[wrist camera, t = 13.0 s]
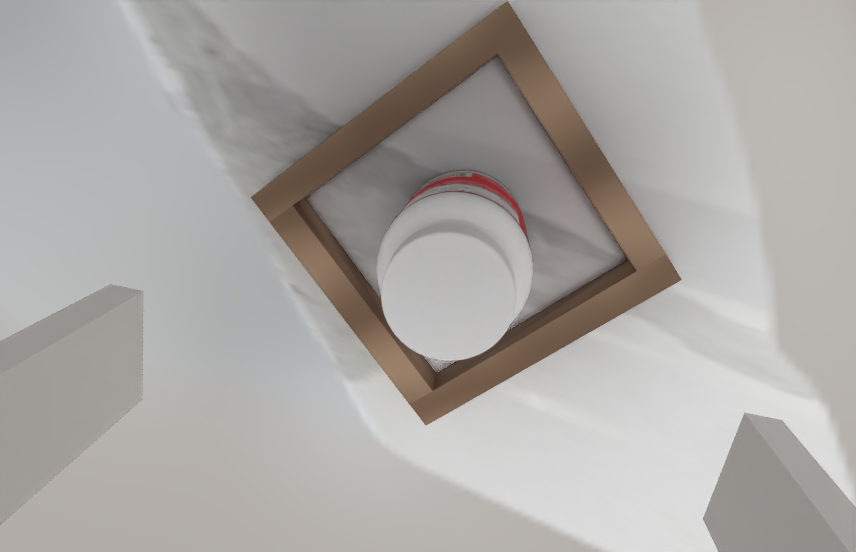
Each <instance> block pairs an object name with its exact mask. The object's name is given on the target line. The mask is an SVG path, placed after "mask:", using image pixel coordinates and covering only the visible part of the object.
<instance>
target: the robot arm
mask: <svg viewBox="0 0 856 552" xmlns="http://www.w3.org/2000/svg"><path fill="white" fill-rule="evenodd" d="M142 373H143V291H140V290H135V289H130V288H126V287H121V286H116V285H111V284H110V285H108V286H106V287H104V288H103V289H101V290H99V291H97V292H95V293H93V294H91V295H89V296H87V297H85V298H83V299H81V300H79V301H77V302H75V303H74V304H71V305H70V306H68V307H66V308H64V309H62V310H60V311H58V312H56V313H54V314H52V315H50V316H48V317H46V318H44V319H42V320H40V321H38V322H37V323H35V324H33V325H31V326H29V327H27V328H25V329H23V330H21V331H19V332H17V333H15V334H13V335H11V336H9V337H7V338H6V339H4V340H2V341H0V525H1V524H2V523H3V522H4V521H5V520H7V519H8V518H9V517H10V516H11V515H12V514H13V513H15V512H16V511H17V510H18V509H19V508H20V507H21V506H22V505H23V504H25V503H26V502H27V501H28V500H29V499H30V498H32V497H33V495H35V494H36V493H37V492H38V491H39V490H41V489H42V488H43V487H44V486H45V485H46V484H47V483H48V482H49V481H51V480H52V479H53V478H54V477H55V476H56V475H57V474H59V473H60V472H61V471H62V470H63V469H64V468H65V467H67V466H68V465H69V464H70V463H71V462H72V461H73V460H74V459H76V458H77V457H78V456H79V455H80V454H81V453H82V452H83V451H85V450H86V449H87V448H88V447H89V446H90V445H91V444H93V443H94V442H95V441H96V440H97V439H98V438H99V437H100V436H101V435H103V434H104V433H105V432H106V431H107V430H108V429H109V428H110V427H112V426H113V425H114V424H115V423H116V422H117V421H118V420H119V419H121V418H122V417H123V416H124V415H125V414H126V413H128V412H129V411H130V410H131V409H132V408H133V407H134V406H135V405H137V404H138V403H139V402H140V401H141V400H142V380H143V379H142V377H143V374H142ZM703 520H704V522H705V524H706V526H707V528H708V530H709V532H710V535H711V537H712V539H713V541H714V543H715V545H716V547H717V549H718V552H856V507H855V506H854V505H853V504H852V503H851V501H850V500H849V499H848V498H847V497H846V496H845V494H844V493H843V492H842V491H841V490H840V488H839V487H838V486H837V485H836V484H835V483H834V481H833V480H832V479H831V478H830V477H829V475H828V474H827V473H826V472H825V471H824V470H823V468H822V467H821V466H820V465H819V464H818V462H817V461H816V460H815V459H814V458H813V457H812V455H811V454H810V453H809V452H808V451H807V449H806V448H805V447H804V446H803V445H802V444H801V442H800V441H799V440H798V439H797V438H796V436H795V435H794V434H793V433H792V432H791V431H790V429H789V428H788V427H787V426H786V425H785V423H784V422H783V421H782V420H778V419H773V418H768V417H763V416H758V415H753V414H748V413H744V416H743V418H742V421H741V423H740V426H739V428H738V431H737V433H736V436H735V438H734V441H733V444H732V446H731V449H730V451H729V454H728V456H727V459H726V461H725V464H724V466H723V469H722V472H721V474H720V477H719V479H718V482H717V484H716V487H715V489H714V492H713V494H712V497H711V500H710V502H709V505H708V507H707V510H706V512H705V515H704V517H703Z"/></svg>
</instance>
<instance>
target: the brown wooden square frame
mask: <svg viewBox="0 0 856 552" xmlns="http://www.w3.org/2000/svg"><path fill="white" fill-rule="evenodd" d="M497 56H498V58H499V59H500V61H501V62H502V64H503V65H504V67H505V68H506V70H507V72H508V73H509V75H510V76H511V78H512V79H513V81H514V83H515V84H516V86H517V87H518V89H519V90H520V92H521V93H522V95H523V97H524V98H525V100H526V101H527V103H528V104H529V106H530V108H531V109H532V111H533V112H534V114H535V115H536V117H537V118H538V120H539V122H540V123H541V125H542V126H543V128H544V129H545V131H546V132H547V134H548V136H549V137H550V139H551V140H552V142H553V143H554V145H555V147H556V148H557V150H558V151H559V153H560V154H561V156H562V157H563V159H564V161H565V162H566V164H567V165H568V167H569V168H570V170H571V172H572V173H573V175H574V176H575V178H576V179H577V181H578V182H579V184H580V186H581V187H582V189H583V190H584V192H585V193H586V195H587V196H588V198H589V200H590V201H591V203H592V204H593V206H594V207H595V209H596V211H597V212H598V214H599V215H600V217H601V218H602V220H603V221H604V223H605V225H606V226H607V228H608V229H609V231H610V232H611V234H612V236H613V237H614V239H615V240H616V242H617V243H618V245H619V246H620V248H621V250H622V251H623V253H624V254H625V256H626V257H627V259H628V260H627V261H625V262H624V263H622V264H620V265H619V266H617V267H615V268H614V269H612V270H610V271H609V272H607V273H605V274H604V275H602V276H600V277H598V278H597V279H595V280H593V281H592V282H590V283H588V284H587V285H585V286H583V287H582V288H580V289H578V290H577V291H575V292H573V293H572V294H570V295H568V296H567V297H565V298H563V299H561V300H560V301H558V302H556V303H555V304H553V305H551V306H550V307H548V308H546V309H545V310H543V311H541V312H540V313H538V314H536V315H535V316H533V317H531V318H529V319H528V320H526V321H524V322H523V323H521V324H519V325H518V326H516V327H514V328H513V329H511V330H509V331H508V332H506V333H505V334H504V335H503V336H502V338H501V339H500V340H499V341H498V342H497V343H496V344H495V345H494V346H492V347H491V348H490V349H488V350H487V351H485V352H483V353H481V354H479V355H477V356H474V357H471V358H468V359H464V360H459V361H457V362H455V363H454V364H452V365H450V366H449V367H447V368H445V369H444V370H442V371H440V372H439V373H437V374H436V373H435V372H434V370H433V369H432V368H431V366H430V365H429V364H428V362H427V361H426V360H425V358H424V357H423V356H422V355H421V354H419V353H417V352H415V351H413V350H412V349H410V348H409V347H407V346H406V345H405V344H404V343H403V342H401V341H400V339H399V338H398V337H397V336H396V335H395V334H394V332H393V331H392V330H391V328H390V326H389V324H388V323H387V321H386V318H385V316H384V312H383V308H382V303H381V300H380V298H379V297H378V296H377V294H376V293H375V292H374V290H373V289H372V288H371V286H370V285H369V284H368V282H367V281H366V280H365V278H364V277H363V276H362V274H361V273H360V272H359V270H358V269H357V268H356V266H355V265H354V263H353V262H352V261H351V259H350V258H349V257H348V255H347V254H346V253H345V251H344V250H343V249H342V247H341V246H340V245H339V243H338V242H337V241H336V239H335V238H334V237H333V235H332V234H331V233H330V231H329V230H328V229H327V227H326V226H325V225H324V223H323V222H322V221H321V219H320V218H319V217H318V215H317V214H316V213H315V211H314V210H313V209H312V207H311V206H310V205H309V203H308V202H307V201H306V199H305V198H306V197H307V196H309V195H310V194H311V193H313V192H314V191H315V190H317V189H318V188H320V187H321V186H322V185H324V184H325V183H326V182H328V181H329V180H330V179H332V178H333V177H334V176H336V175H337V174H338V173H340V172H341V171H343V170H344V169H345V168H347V167H348V166H349V165H351V164H352V163H353V162H355V161H356V160H357V159H359V158H360V157H361V156H363V155H364V154H365V153H367V152H368V151H370V150H371V149H372V148H374V147H375V146H376V145H378V144H379V143H380V142H382V141H383V140H384V139H386V138H387V137H388V136H390V135H391V134H393V133H394V132H395V131H397V130H398V129H399V128H401V127H402V126H403V125H405V124H406V123H407V122H409V121H410V120H411V119H413V118H414V117H415V116H417V115H418V114H420V113H421V112H422V111H424V110H425V109H426V108H428V107H429V106H430V105H432V104H433V103H434V102H436V101H437V100H438V99H440V98H441V97H442V96H444V95H445V94H447V93H448V92H449V91H451V90H452V89H453V88H455V87H456V86H457V85H459V84H460V83H461V82H463V81H464V80H465V79H467V78H468V77H470V76H471V75H472V74H474V73H475V72H476V71H478V70H479V69H480V68H482V67H483V66H484V65H486V64H487V63H488V62H490V61H491V60H492V59H494V58H495V57H497ZM251 198H252V200H253V201H254V202H255V204H256V205H257V206H258V207H259V209H260V210H261V211H262V213H263V214H264V215H265V217H266V218H267V219H268V221H269V222H270V223H271V224H272V226H273V227H274V228H275V230H276V231H277V232H278V234H279V235H280V236H281V237H282V239H283V240H284V241H285V243H286V244H287V245H288V247H289V248H290V249H291V250H292V252H293V253H294V254H295V256H296V257H297V258H298V260H299V261H300V262H301V263H302V265H303V266H304V267H305V269H306V270H307V271H308V273H309V274H310V275H311V277H312V278H313V279H314V280H315V282H316V283H317V284H318V286H319V287H320V288H321V290H322V291H323V292H324V293H325V295H326V296H327V297H328V299H329V300H330V301H331V303H332V304H333V305H334V306H335V308H336V309H337V310H338V312H339V313H340V314H341V316H342V317H343V318H344V319H345V321H346V322H347V323H348V325H349V326H350V327H351V329H352V330H353V331H354V333H355V334H356V335H357V336H358V338H359V339H360V340H361V342H362V343H363V344H364V346H365V347H366V348H367V349H368V351H369V352H370V353H371V355H372V356H373V357H374V359H375V360H376V361H377V362H378V364H379V365H380V366H381V368H382V369H383V370H384V372H385V373H386V374H387V376H388V377H389V378H390V379H391V381H392V382H393V383H394V385H395V386H396V387H397V389H398V390H399V391H400V392H401V394H402V395H403V396H404V398H405V399H406V400H407V402H408V403H409V404H410V405H411V407H412V408H413V409H414V411H415V412H416V413H417V415H418V416H419V417H420V418H421V420H422V421H423V422H424V424H425V425H428V424H429V423H431V422H433V421H435V420H437V419H438V418H440V417H442V416H444V415H445V414H447V413H449V412H451V411H452V410H454V409H456V408H458V407H459V406H461V405H463V404H465V403H466V402H468V401H470V400H472V399H473V398H475V397H477V396H479V395H480V394H482V393H484V392H486V391H487V390H489V389H491V388H493V387H494V386H496V385H498V384H500V383H501V382H503V381H505V380H507V379H508V378H510V377H512V376H514V375H515V374H517V373H519V372H521V371H522V370H524V369H526V368H528V367H529V366H531V365H533V364H535V363H536V362H538V361H540V360H542V359H544V358H545V357H547V356H549V355H551V354H552V353H554V352H556V351H558V350H559V349H561V348H563V347H565V346H566V345H568V344H570V343H572V342H573V341H575V340H577V339H579V338H580V337H582V336H584V335H586V334H587V333H589V332H591V331H593V330H594V329H596V328H598V327H600V326H601V325H603V324H605V323H607V322H608V321H610V320H612V319H614V318H615V317H617V316H619V315H621V314H622V313H624V312H626V311H628V310H629V309H631V308H633V307H635V306H636V305H638V304H640V303H642V302H643V301H645V300H647V299H649V298H651V297H652V296H654V295H656V294H658V293H659V292H661V291H663V290H665V289H666V288H668V287H670V286H672V285H673V284H675V283H677V282H679V281H680V280H682V279H681V278H680V276H679V275H678V273H677V271H676V270H675V268H674V267H673V265H672V263H671V262H670V260H669V259H668V257H667V255H666V254H665V252H664V251H663V249H662V247H661V246H660V244H659V243H658V241H657V239H656V238H655V236H654V235H653V233H652V231H651V230H650V228H649V227H648V225H647V223H646V222H645V220H644V219H643V217H642V215H641V214H640V212H639V211H638V209H637V207H636V206H635V204H634V203H633V201H632V199H631V198H630V196H629V195H628V193H627V191H626V190H625V188H624V187H623V185H622V183H621V182H620V180H619V179H618V177H617V175H616V174H615V172H614V171H613V169H612V167H611V166H610V164H609V163H608V161H607V159H606V158H605V156H604V155H603V153H602V151H601V150H600V148H599V147H598V145H597V143H596V142H595V140H594V139H593V137H592V135H591V134H590V132H589V131H588V129H587V127H586V126H585V124H584V123H583V121H582V119H581V118H580V116H579V115H578V113H577V111H576V110H575V108H574V107H573V105H572V103H571V102H570V100H569V99H568V97H567V95H566V94H565V92H564V91H563V89H562V87H561V86H560V84H559V83H558V81H557V79H556V78H555V76H554V75H553V73H552V71H551V70H550V68H549V67H548V65H547V63H546V62H545V60H544V59H543V57H542V55H541V54H540V52H539V51H538V49H537V47H536V46H535V44H534V43H533V41H532V39H531V38H530V36H529V35H528V33H527V31H526V30H525V28H524V27H523V25H522V23H521V22H520V20H519V19H518V17H517V15H516V14H515V12H514V11H513V9H512V7H511V6H510V4H509V3H508V1H507V2H506V3H504V4H503V5H502V6H500V7H499V8H498V9H497V10H495V11H494V12H493V13H491V14H490V15H489V16H487V17H486V18H485V19H483V20H482V21H481V22H480V23H478V24H477V25H476V26H474V27H473V28H472V29H470V30H469V31H468V32H466V33H465V34H464V35H463V36H461V37H460V38H459V39H457V40H456V41H455V42H453V43H452V44H451V45H449V46H448V47H447V48H446V49H444V50H443V51H442V52H440V53H439V54H438V55H436V56H435V57H434V58H432V59H431V60H430V61H429V62H427V63H426V64H425V65H423V66H422V67H421V68H419V69H418V70H417V71H415V72H414V73H413V74H412V75H410V76H409V77H408V78H406V79H405V80H404V81H402V82H401V83H400V84H398V85H397V86H396V87H395V88H393V89H392V90H391V91H389V92H388V93H387V94H385V95H384V96H383V97H381V98H380V99H379V100H378V101H376V102H375V103H374V104H372V105H371V106H370V107H368V108H367V109H366V110H364V111H363V112H362V113H361V114H359V115H358V116H357V117H355V118H354V119H353V120H351V121H350V122H349V123H347V124H346V125H345V126H344V127H342V128H341V129H340V130H338V131H337V132H336V133H334V134H333V135H332V136H330V137H329V138H328V139H327V140H325V141H324V142H323V143H321V144H320V145H319V146H317V147H316V148H315V149H313V150H312V151H311V152H310V153H308V154H307V155H306V156H304V157H303V158H302V159H300V160H299V161H298V162H296V163H295V164H294V165H293V166H291V167H290V168H289V169H287V170H286V171H285V172H283V173H282V174H281V175H279V176H278V177H277V178H276V179H274V180H273V181H272V182H270V183H269V184H268V185H266V186H265V187H264V188H262V189H261V190H260V191H259V192H257V193H256V194H255V195H253V196H252V197H251Z"/></svg>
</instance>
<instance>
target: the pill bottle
mask: <svg viewBox="0 0 856 552" xmlns="http://www.w3.org/2000/svg"><path fill="white" fill-rule="evenodd" d="M532 279H533V258H532V254H531V249H530V245H529V241H528V237H527V232H526V229H525V224H524V220H523V216H522V213H521V210H520V208H519V205H518V203H517V201H516V200H515V198H514V197H513V195H512V194H511V193H510V191H509V190H508V189H507V188H506V187H505V186H504V185H502V184H501V183H500V182H499V181H497V180H496V179H494V178H492V177H490V176H488V175H485V174H483V173H480V172H475V171H467V170H460V171H452V172H448V173H444V174H441V175H439V176H437V177H435V178H433V179H431V180H430V181H428V182H427V183H426V184H424V185H423V186H422V187H421V188H420V189H419V190H418V191H417V192H416V193H415V194H414V196H413V197H412V198H411V200H410V201H409V202H408V204H407V205H406V206H405V208H404V209H403V210H402V211H401V212H400V214H399V215H398V216H397V217H396V218H395V219H394V221H393V222H392V224H391V226H390V227H389V229H388V230H387V232H386V234H385V236H384V238H383V240H382V243H381V246H380V249H379V252H378V259H377V280H378V285H379V290H380V293H381V303H382V308H383V312H384V316H385V318H386V321H387V323H388V324H389V326H390V328H391V330H392V331H393V332H394V334H395V335H396V336H397V337H398V338H399V339H400V341H401V342H403V343H404V344H405V345H406V346H407V347H409V348H410V349H412V350H413V351H415V352H417V353H419V354H421V355H423V356H426V357H429V358H432V359H437V360H444V361H455V360H464V359H468V358H471V357H474V356H477V355H479V354H481V353H483V352H485V351H487V350H488V349H490V348H491V347H492V346H494V345H495V344H496V343H497V342H498V341H499V340H500V339H501V338H502V336H503V335H504V334H505V333H506V331H507V329H508V328H509V326H510V324H511V323H512V322H513V320H514V319H515V318H516V317H517V316H518V314H519V313H520V312H521V310H522V308H523V307H524V305H525V303H526V301H527V298H528V296H529V293H530V289H531V285H532Z"/></svg>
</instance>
